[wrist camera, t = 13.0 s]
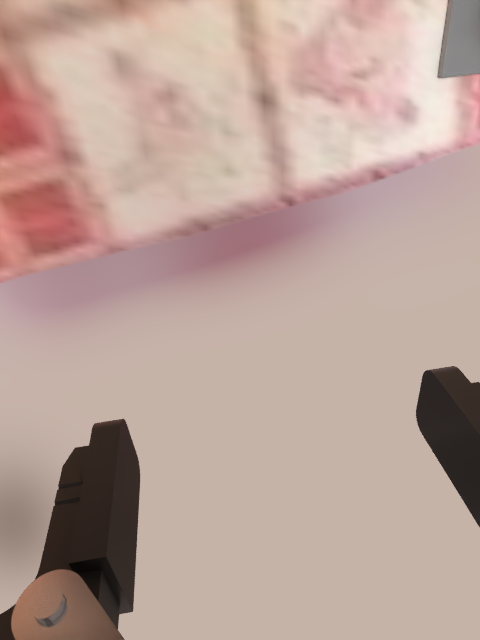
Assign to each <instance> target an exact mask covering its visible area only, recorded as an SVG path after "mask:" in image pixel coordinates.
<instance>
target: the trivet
mask: <svg viewBox="0 0 480 640" xmlns="http://www.w3.org/2000/svg"><path fill="white" fill-rule="evenodd" d="M471 74H480V0H449V2H448V9H447V16H446V23H445V30H444V37H443V44H442V51H441V58H440V65H439V72H438V77H439V78H446V77H455V76H463V75H471Z"/></svg>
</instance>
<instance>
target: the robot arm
mask: <svg viewBox="0 0 480 640" xmlns="http://www.w3.org/2000/svg"><path fill="white" fill-rule="evenodd" d="M416 418H417V422H418V426H419V429H420V431H421V433H422V435H423V436H424V438H425V439H426V441H427V443H428V444H429V446H430V447H431V449H432V451H433V453H434V454H435V456H436V457H437V459H438V461H439V462H440V464H441V465H442V467H443V469H444V470H445V472H446V473H447V475H448V477H449V478H450V480H451V482H452V483H453V485H454V487H455V488H456V490H457V491H458V493H459V494H460V496H461V498H462V499H463V501H464V503H465V504H466V506H467V508H468V509H469V511H470V512H471V514H472V516H473V517H474V519H475V520H476V522H477V524H478V525H479V527H480V383H479V382H476V383H470V381H469V380H468V379H467V378H466V377H465V376H464V374H463V373H462V372H461V371H460V370H459V369H458V368H457V367H455V366H451V367H445V368H439V369H433V370H427V371H425V372H424V374H423V377H422V382H421V388H420V393H419V398H418V403H417V409H416ZM58 486H59V490H57V494H56V498H55V506H54V507H53V512H52V516H51V520H50V525H49V529H48V533H47V538H46V542H45V546H44V551H43V555H42V560H41V564H40V568H39V571H38V574H37V576H36V578H35V580H34V581H33V582H32V583H31V584H30V585H29V586H28V587H27V588H26V589H25V590H24V592H23V593H22V594H21V596H20V597H19V599H18V601H17V603H16V604H15V605H14V606H12V607H11V608H10V609H8V610H7V611H5V612H4V613H2V614H0V640H124V638H123V637H122V635H121V634H120V633H119V631H118V620H119V614H122V613H128V612H133V601H134V582H135V564H136V547H137V527H138V509H139V491H140V468H139V461H138V457H137V454H136V451H135V448H134V445H133V442H132V439H131V436H130V433H129V430H128V427H127V424H126V422H125V420H124V419H119V420H113V421H107V422H101V423H95V424H94V425H93V428H92V433H91V439H90V444H89V446H83V447H77V448H75V449H74V450H73V452H72V453H71V455H70V456H69V458H68V459H67V461H66V462H65V464H64V465H63V468H62V472H61V477H60V481H59V485H58Z"/></svg>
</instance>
